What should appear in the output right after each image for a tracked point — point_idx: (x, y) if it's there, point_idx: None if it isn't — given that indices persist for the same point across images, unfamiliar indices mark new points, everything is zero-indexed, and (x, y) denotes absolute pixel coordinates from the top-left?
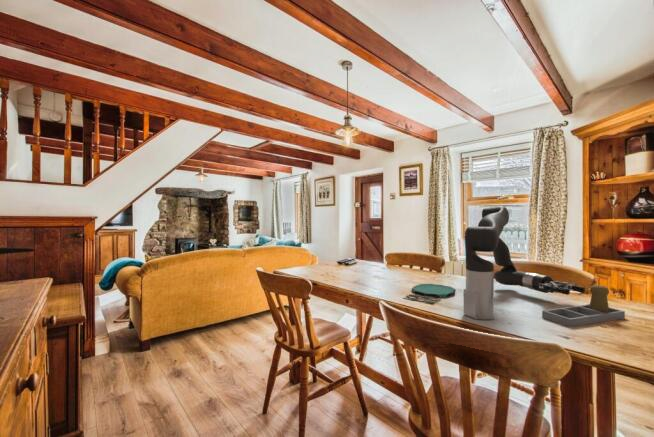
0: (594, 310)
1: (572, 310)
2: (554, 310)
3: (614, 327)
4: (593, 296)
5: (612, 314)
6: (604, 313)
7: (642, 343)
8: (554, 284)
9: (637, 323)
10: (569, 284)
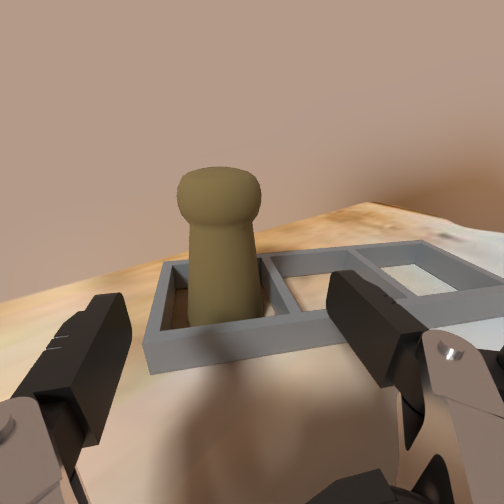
0: (274, 274)
1: None
2: (460, 293)
3: None
4: (252, 232)
5: None
6: (268, 255)
7: (308, 221)
8: (497, 412)
9: None
10: (18, 487)
